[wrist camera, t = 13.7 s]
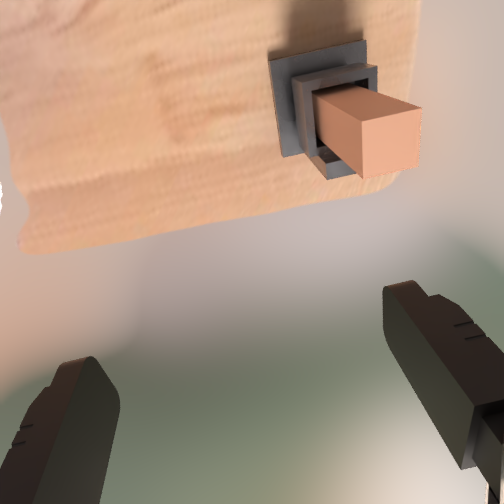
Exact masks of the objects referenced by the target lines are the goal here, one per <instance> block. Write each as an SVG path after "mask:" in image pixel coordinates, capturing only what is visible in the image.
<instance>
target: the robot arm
mask: <svg viewBox="0 0 504 504" xmlns="http://www.w3.org/2000/svg"><path fill="white" fill-rule="evenodd" d="M382 295H383V330H384V335H385V338H386V341H387V344H388V346H389V348H390V350H391V352H392V354H393V355H394V357H395V359H396V360H397V362H398V364H399V366H400V367H401V369H402V371H403V372H404V374H405V376H406V377H407V379H408V381H409V382H410V384H411V386H412V388H413V389H414V391H415V393H416V394H417V396H418V398H419V400H420V401H421V403H422V405H423V406H424V408H425V410H426V411H427V413H428V415H429V417H430V418H431V420H432V422H433V423H434V425H435V427H436V429H437V430H438V432H439V434H440V435H441V437H442V439H443V440H444V442H445V444H446V446H447V447H448V449H449V451H450V452H451V454H452V456H453V457H454V459H455V461H456V462H457V464H458V466H459V468H460V469H461V470H463V469H467V468H472V467H476V466H477V467H478V468H479V469H480V472H481V473H482V475H483V476H484V478H485V479H486V481H487V483H486V494H485V504H504V353H503V352H502V351H501V350H500V349H499V348H498V347H497V345H496V344H494V342H493V341H492V340H491V339H490V338H489V337H486V335H485V333H484V332H483V330H482V329H481V328H480V327H479V326H478V325H477V324H474V322H473V320H472V319H471V318H470V317H469V315H467V313H466V312H465V311H464V310H463V309H462V308H461V307H460V306H459V305H457V304H456V303H454V302H452V301H450V300H449V299H447V298H445V297H443V296H441V295H439V294H438V295H433V296H429V297H428V295H427V294H426V293H425V292H424V291H423V289H422V288H421V287H420V286H419V285H418V284H417V283H416V282H415V281H413V280H410V281H406V282H402V283H397V284H393V285H389V286H385V287H384V288H383V294H382ZM119 413H120V399H119V395H118V392H117V390H116V388H115V386H114V385H113V383H112V382H111V380H110V379H109V377H108V376H107V374H106V373H105V371H104V370H103V369H102V367H101V365H100V364H99V362H98V361H97V360H96V359H95V358H94V357H92V356H89V357H85V358H81V359H77V360H73V361H68V362H65V363H62V364H61V365H60V366H59V367H58V369H57V372H56V374H55V376H54V379H53V381H52V383H51V385H50V386H49V387H45V388H44V389H43V390H42V392H41V393H40V394H39V395H38V397H37V398H36V399H35V400H34V401H33V403H32V404H31V405H30V406H29V408H28V410H27V413H26V414H25V417H24V419H23V421H22V423H21V425H20V431H18V432H17V434H16V436H15V438H14V440H13V442H12V448H11V449H9V451H8V453H7V455H6V457H5V459H4V461H3V464H2V466H1V468H0V504H99V502H100V498H101V494H102V489H103V485H104V480H105V476H106V471H107V467H108V462H109V458H110V453H111V448H112V444H113V440H114V435H115V431H116V426H117V422H118V418H119Z"/></svg>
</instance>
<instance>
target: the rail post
mask: <svg viewBox="0 0 504 504" xmlns="http://www.w3.org/2000/svg"><path fill="white" fill-rule="evenodd" d="M311 92H312V103H313V114H314V125H315V135H316V136H317V137H318V138H319V139H320V140H321V141H322V142H323V143H324V144H325V145H327V146H328V147H329V148H330V149H331V150H332V151H333V152H334V153H335V154H336V155H337V156H339V157H340V158H341V159H342V160H343V161H344V162H345V163H346V164H347V165H348V166H349V167H350V168H352V169H353V170H354V171H355V172H356V173H357V174H358V175H359V176H360V177H361V178H362V179H366V178H371V177H375V176H380V175H384V174H388V173H393V172H397V171H402V170H406V169H410V168H414V167H418V163H419V148H420V132H421V114H422V108H421V107H417V106H415V105H412V104H409V103H406V102H403V101H400V100H397V99H395V98H392V97H389V96H386V95H383V94H380V93H377V92H374V91H371V90H368V89H365V88H363V87H360V86H357V85H354V84H351V83H344V84H340V85H335V86H331V87H327V88H322V89H318V90H314V91H311Z"/></svg>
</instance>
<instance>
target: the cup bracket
mask: <svg viewBox="0 0 504 504" xmlns="http://www.w3.org/2000/svg"><path fill="white" fill-rule="evenodd" d="M268 65H269V72H270V78H271V85H272V92H273V99H274V106H275V112H276V119H277V126H278V133H279V140H280V147H281V153H282V156H283V158H284V157H288V156H293V155H297V154H302V153H305V154H306V155H307V157H308V158H309V159H310V160H311V161H312V163H313V164H314V165H315V166H316V167H317V169H318V170H319V171H320V172H321V173H322V175H323V176H324V177H325V178H326V179H327V180H329V179H334V178H338V177H343V176H347V175H352V174H356V172H355V171H354V170H353V169H352V168H350V167H349V166H348V165H347V164H346V163H345V162H344V161H343V160H342V159H341V158H340V157H339V156H337V155H336V154H335V153H334V152H333V151H332V150H331V149H330V148H329V147H328V146H327V145H325V144H324V143H323V142H322V141H321V140H320V139H319V138H318V137H317V136H316V135H315V125H314V114H313V103H312V92H311V91H314V90H318V89H322V88H327V87H331V86H335V85H340V84H344V83H351V84H354V85H357V86H360V87H363V88H365V89H368V90H371V91H374V92H377V66H375V65H370V64H367V48H366V40H359V41H354V42H350V43H346V44H341V45H337V46H332V47H328V48H323V49H319V50H315V51H310V52H306V53H301V54H297V55H292V56H288V57H284V58H279V59H275V60H270V61H268Z"/></svg>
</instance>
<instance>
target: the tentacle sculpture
mask: <svg viewBox="0 0 504 504" xmlns="http://www.w3.org/2000/svg"><path fill="white" fill-rule="evenodd" d="M2 196H3V193H2V185H1V182H0V212H1V208H2V203H1V197H2Z"/></svg>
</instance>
